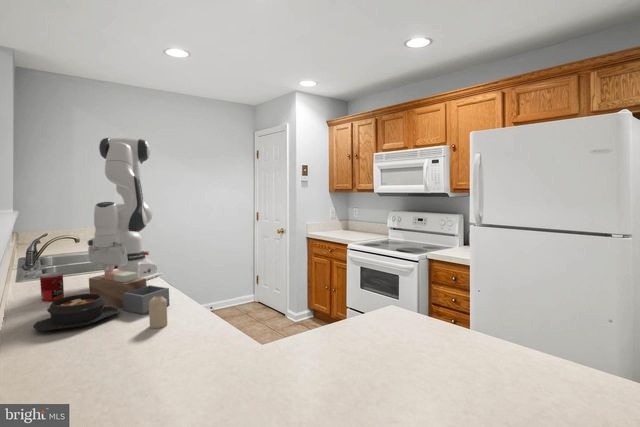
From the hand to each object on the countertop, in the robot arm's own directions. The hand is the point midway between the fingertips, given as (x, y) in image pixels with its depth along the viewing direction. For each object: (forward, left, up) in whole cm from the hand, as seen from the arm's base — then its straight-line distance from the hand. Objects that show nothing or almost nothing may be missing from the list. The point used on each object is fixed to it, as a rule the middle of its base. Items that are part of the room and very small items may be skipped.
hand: (108, 274), depth 152 cm
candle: (+11, +41, -11) cm, 44 cm away
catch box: (0, +22, -11) cm, 25 cm away
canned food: (+9, -25, -11) cm, 28 cm away
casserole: (+21, +13, -11) cm, 27 cm away
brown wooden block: (0, +5, -11) cm, 12 cm away
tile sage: (0, +10, -1) cm, 11 cm away
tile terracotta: (0, +4, -1) cm, 5 cm away
